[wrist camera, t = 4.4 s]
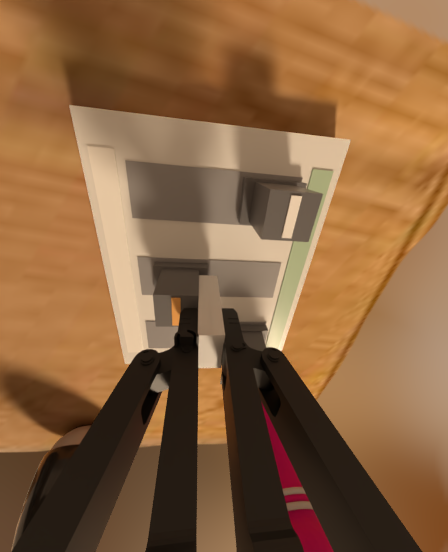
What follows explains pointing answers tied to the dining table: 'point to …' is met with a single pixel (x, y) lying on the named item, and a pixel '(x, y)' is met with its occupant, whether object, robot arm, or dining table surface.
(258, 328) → the breaker
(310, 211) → the breaker
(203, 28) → the dining table surface
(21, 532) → the black glossy egg shape
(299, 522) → the pepper mill
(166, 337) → the panel
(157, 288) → the breaker
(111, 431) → the robot arm
